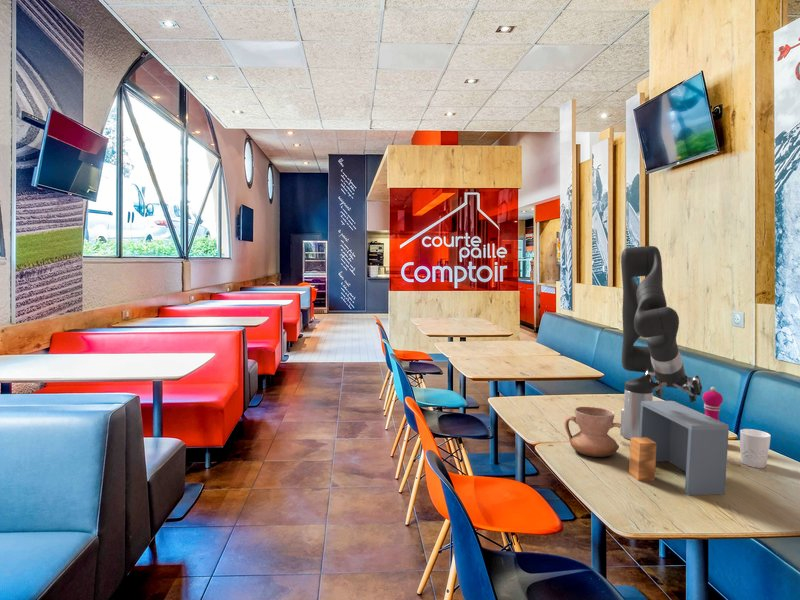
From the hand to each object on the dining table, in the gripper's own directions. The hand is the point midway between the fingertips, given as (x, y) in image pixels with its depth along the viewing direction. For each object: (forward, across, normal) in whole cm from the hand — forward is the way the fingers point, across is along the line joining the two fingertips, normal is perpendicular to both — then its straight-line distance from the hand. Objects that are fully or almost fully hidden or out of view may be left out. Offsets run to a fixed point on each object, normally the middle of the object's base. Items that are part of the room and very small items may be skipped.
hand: (676, 397), depth 151 cm
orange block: (+11, +6, +22) cm, 26 cm away
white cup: (+35, -16, -4) cm, 39 cm away
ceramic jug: (+17, +25, +16) cm, 34 cm away
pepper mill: (+43, -2, -13) cm, 45 cm away
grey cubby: (+16, -1, +16) cm, 23 cm away
